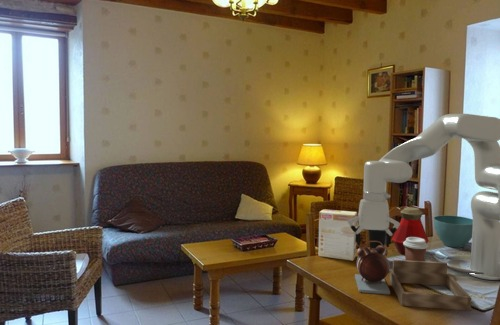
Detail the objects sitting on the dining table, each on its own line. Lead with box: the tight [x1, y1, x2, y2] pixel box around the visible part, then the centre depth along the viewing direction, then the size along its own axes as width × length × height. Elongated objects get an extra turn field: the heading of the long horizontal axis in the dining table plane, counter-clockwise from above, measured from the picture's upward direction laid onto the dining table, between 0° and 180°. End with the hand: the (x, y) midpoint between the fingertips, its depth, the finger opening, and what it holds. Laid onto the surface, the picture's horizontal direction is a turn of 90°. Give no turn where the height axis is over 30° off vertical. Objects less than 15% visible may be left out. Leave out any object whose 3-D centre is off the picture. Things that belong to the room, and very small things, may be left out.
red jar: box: [391, 206, 429, 256], centre depth 174 cm, size 16×14×20 cm
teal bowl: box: [433, 214, 473, 249], centre depth 187 cm, size 18×18×12 cm
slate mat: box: [354, 273, 391, 295], centre depth 139 cm, size 10×14×1 cm
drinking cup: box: [368, 230, 387, 250], centre depth 165 cm, size 8×8×20 cm
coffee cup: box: [403, 237, 429, 261], centre depth 155 cm, size 9×9×12 cm
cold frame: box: [389, 259, 472, 312], centre depth 131 cm, size 20×20×8 cm
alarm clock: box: [355, 240, 390, 283], centre depth 139 cm, size 11×5×15 cm, turn 92°
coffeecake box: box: [317, 208, 358, 261], centre depth 169 cm, size 15×7×20 cm, turn 66°
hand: (372, 245), depth 138 cm, fingers open, 9 cm apart
